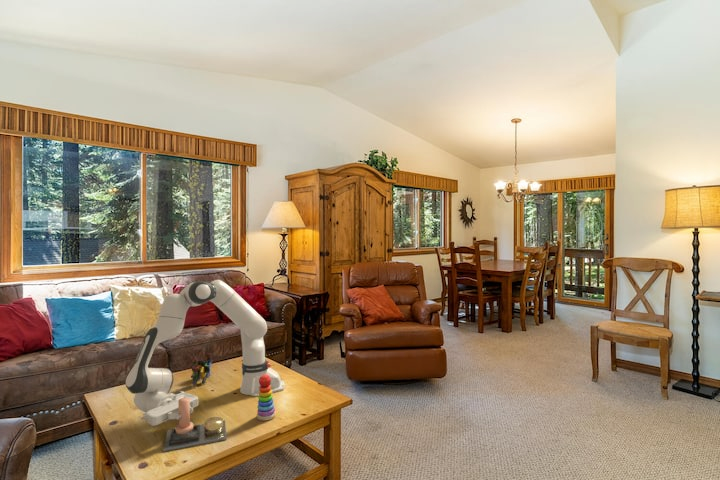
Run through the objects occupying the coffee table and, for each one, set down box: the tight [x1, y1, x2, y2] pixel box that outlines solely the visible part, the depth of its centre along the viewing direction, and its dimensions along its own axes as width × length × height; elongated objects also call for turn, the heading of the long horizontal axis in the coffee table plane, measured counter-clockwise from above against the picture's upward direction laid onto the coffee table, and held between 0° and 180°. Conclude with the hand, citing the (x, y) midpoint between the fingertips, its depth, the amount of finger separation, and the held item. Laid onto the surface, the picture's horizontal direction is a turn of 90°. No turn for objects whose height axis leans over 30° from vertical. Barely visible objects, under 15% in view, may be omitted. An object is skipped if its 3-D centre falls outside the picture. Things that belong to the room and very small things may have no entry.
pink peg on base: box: [175, 398, 194, 434], centre depth 152 cm, size 6×6×12 cm
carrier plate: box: [162, 416, 227, 452], centre depth 154 cm, size 22×14×5 cm, turn 111°
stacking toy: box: [256, 375, 276, 421], centre depth 169 cm, size 8×8×19 cm
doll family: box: [190, 352, 214, 389], centre depth 210 cm, size 23×9×13 cm, turn 13°
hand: (185, 413), depth 151 cm, fingers closed on pink peg on base, 4 cm apart
